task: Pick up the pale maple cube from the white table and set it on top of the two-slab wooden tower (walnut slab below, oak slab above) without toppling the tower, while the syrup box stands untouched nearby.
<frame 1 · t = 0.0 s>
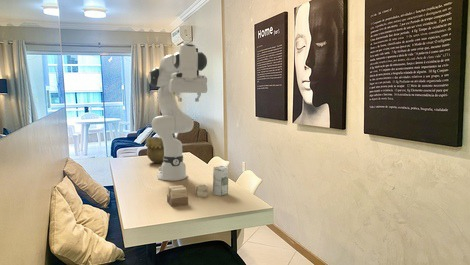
hand: (188, 101, 187), 48 cm above the table, tool pointing down, fingers open, 8 cm apart
clay pot: (159, 163, 268), on the table
walnut slab: (177, 203, 170), on the table
oak slab: (177, 195, 169), point 4 cm above the table
maple cube: (201, 195, 183), on the table
syrup box: (220, 194, 186), on the table
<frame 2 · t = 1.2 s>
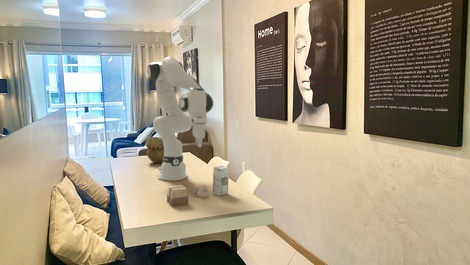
hand: (198, 146, 181), 25 cm above the table, tool pointing down, fingers open, 8 cm apart
nothing on the table moved.
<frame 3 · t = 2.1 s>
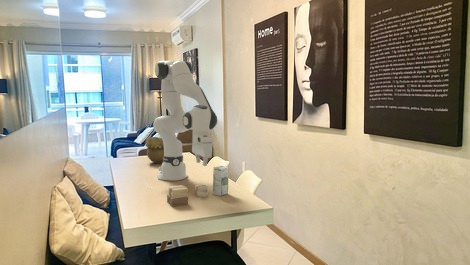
hand: (201, 164, 181), 16 cm above the table, tool pointing down, fingers open, 8 cm apart
walnut slab: (177, 203, 170), on the table, touching oak slab
oak slab: (178, 195, 169), point 4 cm above the table, touching walnut slab
everything else where it was.
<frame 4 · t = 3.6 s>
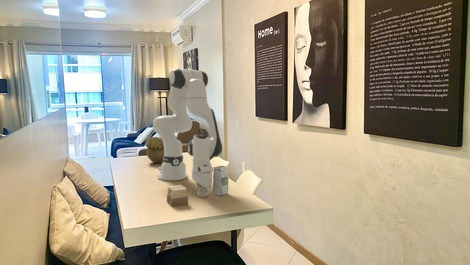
hand: (201, 192, 183), 2 cm above the table, tool pointing down, fingers closed on maple cube, 5 cm apart
maple cube: (201, 195, 183), on the table, touching gripper
everything else where it was.
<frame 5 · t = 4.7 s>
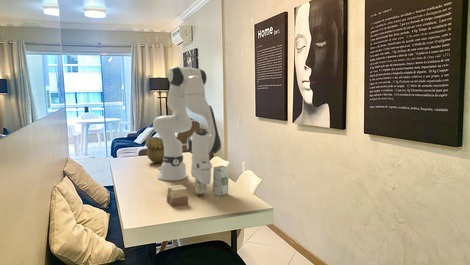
hand: (200, 188, 183), 3 cm above the table, tool pointing down, fingers closed on maple cube, 5 cm apart
walnut slab: (177, 203, 170), on the table
oak slab: (177, 195, 169), point 4 cm above the table
maple cube: (200, 191, 183), point 2 cm above the table, touching gripper
everything else where it was.
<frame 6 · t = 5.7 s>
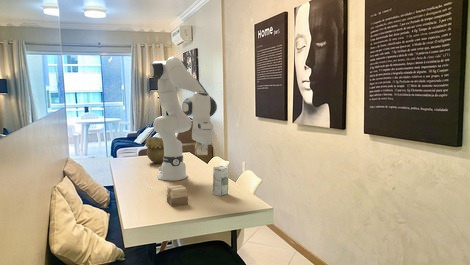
hand: (201, 150, 181), 23 cm above the table, tool pointing down, fingers closed on maple cube, 5 cm apart
walnut slab: (177, 203, 170), on the table, touching oak slab
oak slab: (177, 195, 169), point 4 cm above the table, touching walnut slab
maple cube: (201, 154, 181), point 21 cm above the table, touching gripper
everything else where it was.
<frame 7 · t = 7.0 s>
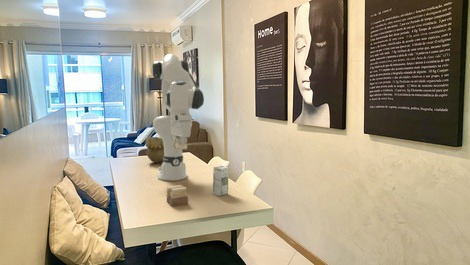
hand: (180, 145, 168), 28 cm above the table, tool pointing down, fingers closed on maple cube, 5 cm apart
walnut slab: (177, 203, 170), on the table
oak slab: (176, 195, 169), point 4 cm above the table
maple cube: (180, 148, 168), point 26 cm above the table, touching gripper
everything else where it was.
when the fingers open (11 cm above the table, at t = 10.7 s): maple cube drops 2 cm, resting on oak slab.
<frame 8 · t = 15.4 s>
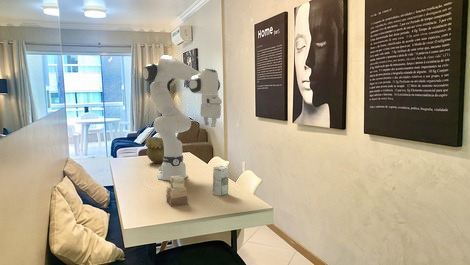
hand: (209, 126, 188), 35 cm above the table, tool pointing down, fingers open, 8 cm apart
walnut slab: (176, 203, 170), on the table, touching oak slab
oak slab: (176, 195, 169), point 4 cm above the table, touching maple cube, walnut slab
maple cube: (177, 187, 169), point 8 cm above the table, touching oak slab
everything else where it was.
at the end: maple cube inside the target area on the walnut slab (0.4 cm from its centre), point 8.0 cm above the walnut slab's base; maple cube tilted 0°; oak slab tilted 0° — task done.
